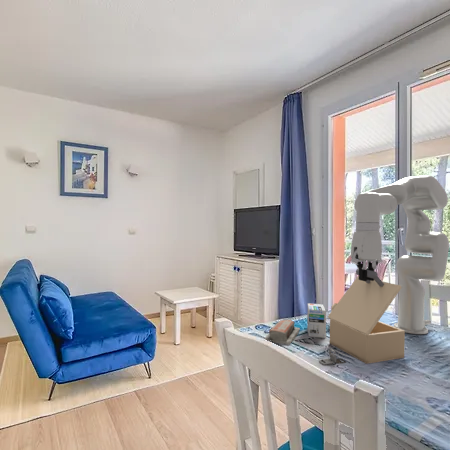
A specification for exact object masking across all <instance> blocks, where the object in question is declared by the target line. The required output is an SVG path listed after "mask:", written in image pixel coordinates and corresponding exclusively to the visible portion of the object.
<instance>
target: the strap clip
mask: <svg viewBox="0 0 450 450" xmlns="http://www.w3.org/2000/svg"><path fill="white" fill-rule="evenodd" d="M328 354H329V358H321V359H320V360H318V363H319V364H321V365H322V366H331V365H334V364H346V363H347V361H346V360H344V359H343V358H337V352H336V350H334V349H332V348H330V349H329V352H328Z"/></svg>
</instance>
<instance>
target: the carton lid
mask: <svg viewBox="0 0 450 450" xmlns="http://www.w3.org/2000/svg"><path fill="white" fill-rule="evenodd" d="M355 273H356V275H357V277H356V278H355V280H354V281H353V282H352V283H351V285H350V286H349V288H348V289H346V292H344V294H343V295H342V296H341V298H340V300H339V301H338V302H336V303H337V305H336V306H335V307H334V309H333V310H332V312H330V313H329V314H328V316H327V318H328V319H332V320H334V321H336V322H338V323H341V324H343V325H345V326H347V327H350V328H352V329H354V330H356V331H359V332H361V333H363V334H365V335H369V334H370V333H371V331H372V330H373V328H374V327H375V325H376V324H377V322H378V321H381V320H380V319H381V318H382V317H383V315H384V314H385V313H386V311H387V309H388V308H389V306H391V304H392V303H393V300H394V299H395V298H396V296H397V295H399V291H400V289H401V288H402V287H401V286H400V285H399V284H395V283H391V282H385V281H383V280H381V278H380V277H379V276H378V272H377V271H375V270H374V271H369V270H367V277H369V278H373V279H374V281H370V280H367V281H362V280H359V269H358V268H357V269H356V270H355Z"/></svg>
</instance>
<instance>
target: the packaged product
mask: <svg viewBox="0 0 450 450" xmlns="http://www.w3.org/2000/svg"><path fill="white" fill-rule="evenodd" d="M300 330H301V328H300V327H297V326H296V327H295V321H293V320H292V319H282V320H279V321H277V322H276V323H275V324H274V325H273V326H272V327H271V328H270V330H269V331H268V334H267V335H266V336H265V337H264V339H266V340H269V341H268V342H270V340H271V341H273V342H272V343H277V344H280V345H288V346H290V345H291V344H292V343H293V341H294V340H295V339H296V338H297V336H298V335H299V333H300ZM264 339H263V340H264Z"/></svg>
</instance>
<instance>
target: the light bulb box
mask: <svg viewBox="0 0 450 450" xmlns="http://www.w3.org/2000/svg"><path fill="white" fill-rule="evenodd" d="M306 322H307V325H306V326H307V327H306V328H307V335H308V337H310V338H311V337H312V338H323V339H326V338H327V335H326V333H327V332H326V331H327V310H326V308H325V306H324V304H321V303H320V304H319V303H310V302H309V303H308V302H307V321H306Z"/></svg>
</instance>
